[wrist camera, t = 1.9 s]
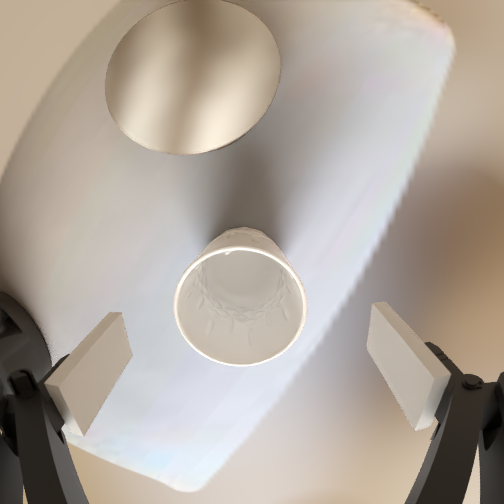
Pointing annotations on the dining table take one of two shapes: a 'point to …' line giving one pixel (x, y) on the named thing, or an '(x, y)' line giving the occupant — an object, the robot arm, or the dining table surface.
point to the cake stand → (192, 77)
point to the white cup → (240, 300)
